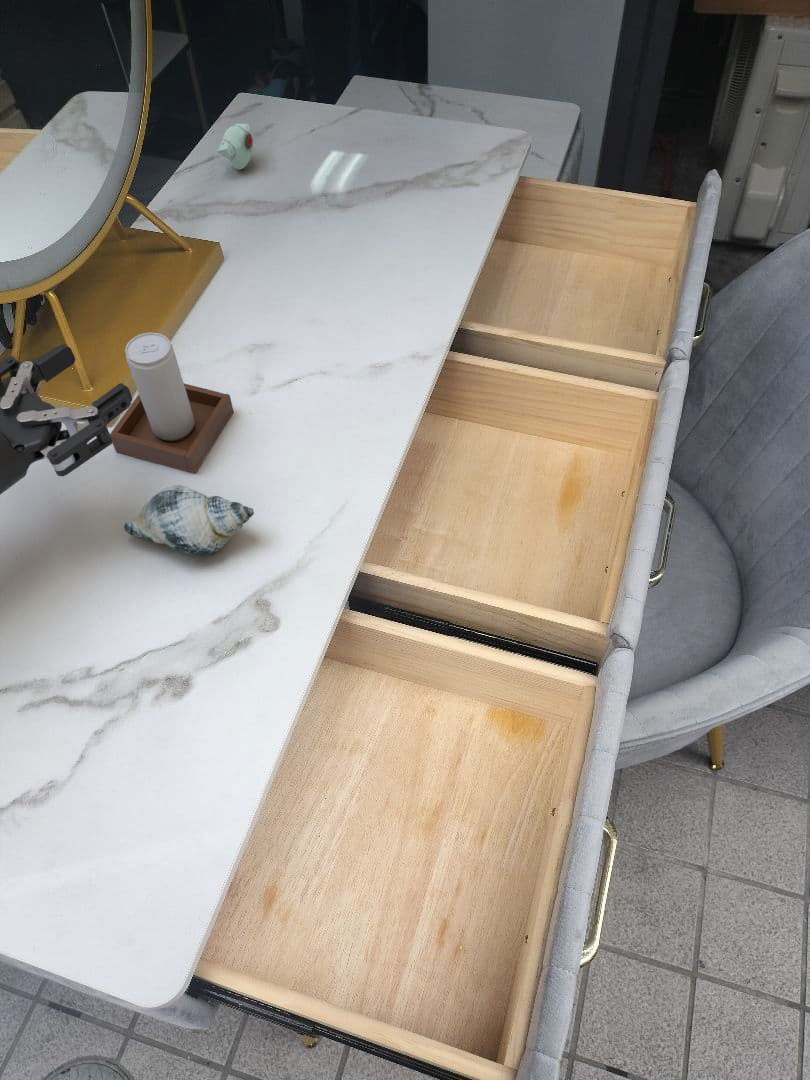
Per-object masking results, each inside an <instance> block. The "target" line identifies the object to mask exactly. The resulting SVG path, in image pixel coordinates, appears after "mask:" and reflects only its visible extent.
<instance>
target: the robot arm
mask: <svg viewBox="0 0 810 1080" xmlns="http://www.w3.org/2000/svg"><path fill="white" fill-rule="evenodd" d="M75 362H76V357H75V354H74V352H73V350H72V348H71V347H70V346H68V344H66V343H62V344H60V345H58V346H54V347H52V348H51V349H49V350H48V351H46V352H44V353H43V354H42V355H40V356H39V357H36V358H35V359H34V360H33V361H30V360H26V361H23V362H22V361H18V359H16V357H15V356H13V355H12V356H7V357H5V358H4V359H2V360H1V361H0V496H1V495H2V494H4V493H5V492H6V491H7V490H9V489H10V488H11V487H13V486H14V485H15V484H17V483H18V482H19V481H21V480H22V479H23V478H25V477H26V476H27V474H28V473H27V472H28V470H29V468H30V466H31V465H32V464H34V463H35V462H37V461H38V462H39V461H40V460H45V461H46V462H47V463H48V464H50V465H51V467H52V468H53V470H54V472H55V474H56V475H57V476H58V477H65V476H67V475H69V474H70V473H71V472H73V471H75V470H76V469H78V468H79V467H81V466H82V465H83V464H85V463H87V461H89V460H90V459H92V458H94V457H95V456H97V454H99V453H100V452H102V451H104V450H105V449H107V448H108V447H109V446H111V445H113V443H112V438H111V436H110V433H111V432H110V431H109V429H108V427H107V426H108V424H109V423H110V422H112V421H113V420H114V419H116V418H117V417H119V416H120V415H121V414H122V413H123V412H126V411H127V410H128V408H129V407H130V406H131V404H132V403H133V396H132V394H131V390H130V388H129V387H128V386H127V385H125V384H124V383H122V382H121V383H120V382H119V383H118V384H117V385H115V386H114V387H112V388H110V390H108V391H107V392H105V393H104V394H103V395H101V396H100V397H99V398H97V399H96V400H95V401H93V402H91V405H92V406H85V407H80V408H74V409H72V408H71V407H69V406H62V407H55V406H54V405H53V404H51V403H49V402H46V401H44V400H42V398H41V397H40V395H39V392H40V391H41V387H42V384H43V381H44V382H46V383H48V382H50V381H51V380H53V379H54V378H55V377H57V376H58V375H59V374H61V373H63V372H64V371H65V370H67V369H69V368H70V367H71V366H73V365H74V364H75ZM7 374H9V375H8V376H7V377H6V378H4V379H3V380H2V377H4V376H5V375H7ZM84 421H87V422H84ZM79 422H82V423H79ZM63 424H64V426H65V428H66V429H63V430H62V427H63ZM94 438H95V439H94Z"/></svg>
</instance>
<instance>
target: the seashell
mask: <svg viewBox="0 0 810 1080" xmlns="http://www.w3.org/2000/svg"><path fill="white" fill-rule="evenodd" d="M254 515H255V511H254V508H253V507H249V506H246V505H243V504H242V503H240V502H237V501H231V500H229V499H225V498H224V497H221V496H217V495H213V496H207V495H206V494H204V493H202V492H199V491H198V490H196V489H194V488H191V487H189V486H184V485H169V486H166V487H164V488H162V489H161V490H159V491H157V492H156V493H155V494H153V495H152V497H150V499H149V500H148V501H147V502H146V503H145V505H144V506H143V507H142V509H141V510H140V512H139V513H138V514H137V516H135V517H132V518H131V519H128V520H127V521H126V522H125V523H124V525H123V529H124V532H125V533H126V534H127V535H129V536H132V537H139V538H140V539H143V540H145V541H148V542H150V543H154V544H166V545H167V546H168V547H170V548H172V549H173V550H176V551H178V552H179V553H182V554H185V555H188V556H194V557H207V556H211V555H213V554H216V553H218V552H219V551H221V550H222V548H223V547H224V546H225V545H226V544H227V543H228V541H230V539H232V536H233V535H235V534H237V533H238V532H240V531H241V530H242V529H243V527H244V524H246V523H247V522H248V521H249V520H250V519H251V518H252V517H253V516H254Z"/></svg>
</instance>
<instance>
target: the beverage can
mask: <svg viewBox="0 0 810 1080" xmlns="http://www.w3.org/2000/svg"><path fill="white" fill-rule="evenodd" d="M124 352H125V358H126V363H127V365H128V368H129V371H130V374H131V376H132V379H133V381H134V384H135V387H136V389H137V392H138V395H140V398H141V401H142V403H143V406H144V409H145V412H146V414H147V417H148V420H149V423H150V425H151V428H152V431H153V433H154V434H155V435H156V436H157V437H158V438H160V439H163V440H166V441H177V440H181V439H183V438H185V437H186V436H187V435H189V433H190V432H191V431H192V430H193V428H194V425H195V420H194V416H193V413H192V410H191V406H190V403H189V400H188V396H187V393H186V390H185V386H184V383H185V382H184V379H183V375H182V373H181V369H180V366H179V363H178V360H177V359H178V358H177V356H176V352H175V350H174V347H173V344H172V343H171V341H170V339H169V338H168V337H167V336H166V335H164V334H163V333H162V334H161V333H159V332H145V333H140V334H138V335H136V336H134V337H133V338H131V339H130V340H129V341H128V342H127V344H126V346H125V350H124Z"/></svg>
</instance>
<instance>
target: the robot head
mask: <svg viewBox="0 0 810 1080" xmlns="http://www.w3.org/2000/svg"><path fill="white" fill-rule="evenodd" d="M253 147H254V140H253V135H252V129H251V127H250V124H248V123H238V122H237V123H235V124H233V125H231V126H230V127H228V128H227V129H226V131H225V132H224V133H223V137H222V141H221V143H220V145H219V147H218V148H217V150H216V152H217V153H218V154H220V155H221V156H223V157H225V158H226V159H227V160H228V161H229V162H228V163H230V165H231V166H232V167H233V168H234V169H237V170H239V171H241V170H242V169H245V167H246V166H248V164H249V162H250V160H251V158H252V154H253Z"/></svg>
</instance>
